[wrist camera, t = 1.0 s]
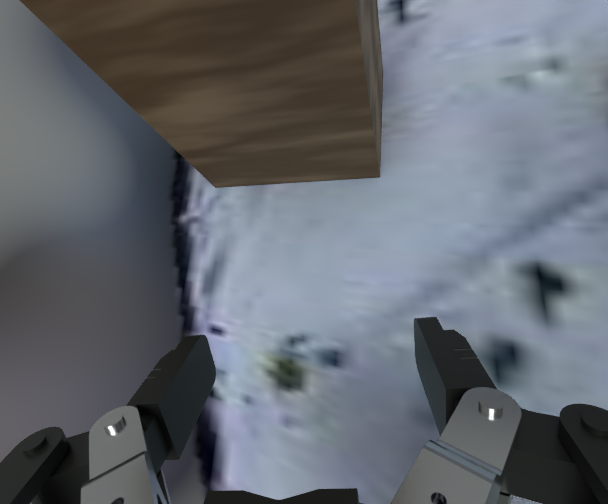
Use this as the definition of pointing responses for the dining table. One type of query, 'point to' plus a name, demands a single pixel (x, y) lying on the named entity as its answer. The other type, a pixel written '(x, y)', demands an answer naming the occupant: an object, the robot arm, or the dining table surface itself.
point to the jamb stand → (241, 80)
